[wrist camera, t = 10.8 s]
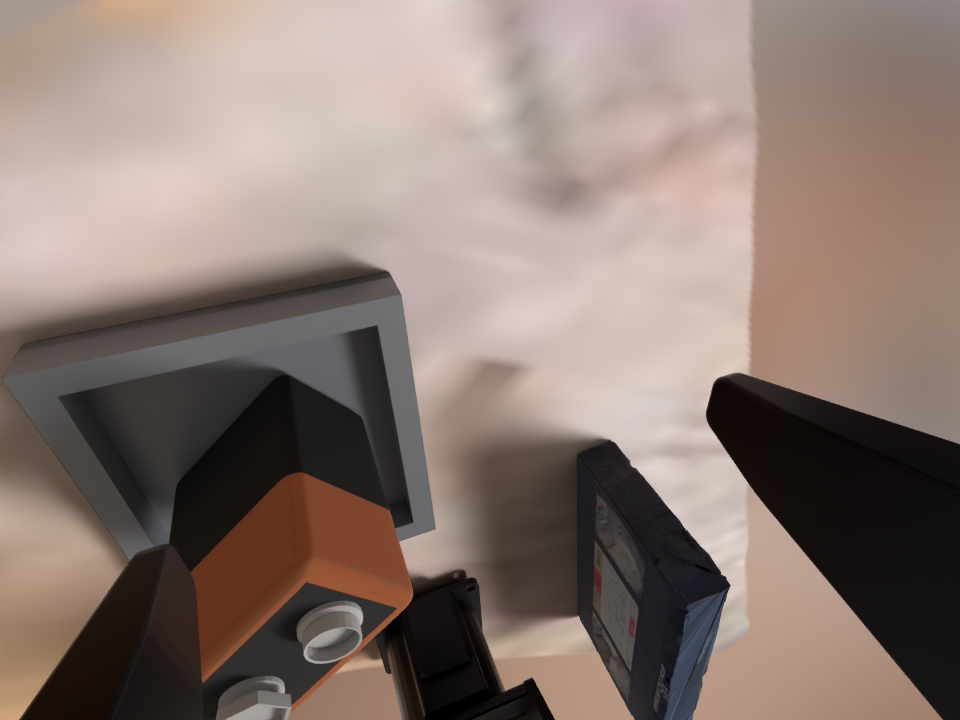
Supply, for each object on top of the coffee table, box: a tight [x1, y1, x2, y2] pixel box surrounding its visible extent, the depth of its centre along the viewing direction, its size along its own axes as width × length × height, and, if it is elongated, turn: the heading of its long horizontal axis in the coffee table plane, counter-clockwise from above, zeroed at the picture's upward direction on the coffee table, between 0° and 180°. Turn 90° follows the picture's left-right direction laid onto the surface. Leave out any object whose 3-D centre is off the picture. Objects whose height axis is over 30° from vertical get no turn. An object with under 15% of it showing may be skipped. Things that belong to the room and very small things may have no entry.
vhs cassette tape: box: [577, 442, 731, 720], centre depth 32 cm, size 18×3×10 cm, turn 6°
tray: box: [1, 272, 436, 560], centre depth 22 cm, size 13×12×2 cm
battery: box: [169, 375, 413, 720], centre depth 18 cm, size 4×7×10 cm, turn 132°
